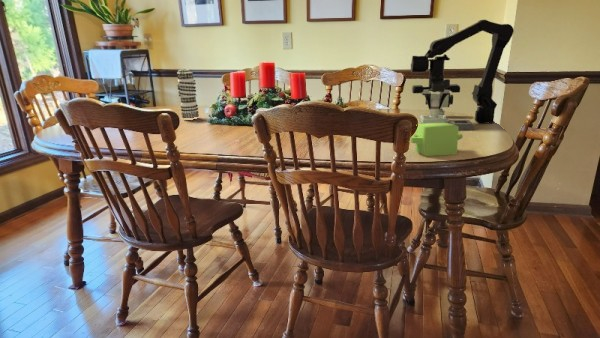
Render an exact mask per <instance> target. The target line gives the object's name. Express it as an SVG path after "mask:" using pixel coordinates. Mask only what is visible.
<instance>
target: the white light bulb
mask: <svg viewBox="0 0 600 338" xmlns="http://www.w3.org/2000/svg"><path fill="white" fill-rule="evenodd" d="M439 101H440V99H439V98H431V99H430V110H429V115H430V116H429V118H439Z"/></svg>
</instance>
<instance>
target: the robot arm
mask: <svg viewBox="0 0 600 338" xmlns="http://www.w3.org/2000/svg"><path fill="white" fill-rule="evenodd" d="M481 32H485V33H486V34H490V35H491V36H492V37H491V49H490V51H489V56H488V59H487V61H486V66H485V67H484V71H483V73H482V78H481V81H480V82H479V84H478V85H477V84H474V86H473V91H472V92H471V95H472V100H473V102H475V104H476V106H477V107H476V110H475V112H474V113H475V114H474V121H475V122H477V123H478V124H495V120H494V119H495V110H496V108H497V105H498V104H497V102H496V101H495V100H493V99H492V98H493V92H494V91H493V90H494V89H493V83H494V80H495V77H496V74H497V71H498V68H499V65H500V61H501V59H502V57H503V52H504V49H505V48H506V46H507V45H508V44H509V42H510V40H511V38H512V37H513V35H514V33H515V32H514V27H513V26H512V24H510V23H509V24H508V23H496V22H493V21H489V20H487V19H479V20H478V21H476V22H475V23H472V24H471V25H469V26H468V27H465V28H464V29H461V30H459V31H457V32H455V33H453V34H452V35H449V36H445V37H442V38H439V39H436V40H433V41H432V42H431V43H430V45H429V49H428V50H427V51H426V53H425V54H424V55H412V57H411V63H410V72H411V74H413V73H415V74H416V73H426V72H427V71H428V70H429V71H428V72H429V73H428V86H423V85H422V84H419V85H418V84H416V85H415V84H414V85H412V87H411V92H412V94H421V95H422V96H424V97H425V101H427V104H428V105H427V107H428V110H429V111H430V93H429V92H440V101H439V109H441V106H442V103H443V101H444V99H445V97H446V96H447V95H451V93H460V92H461V86H460V85H459V84H457V83H455V84H454V83H452V84H451V79H445V78H444V72H445V61H450V60H451V58H450V57H449V56H448V55H447V54H446V53H447V52H448V51H449V50H451V49H452V48H453V47H454V46H456V45H457V44H459V43H461V42H463V41H464V40H467V39H469V38H471V37H473V36H475V35H477V34H480V33H481ZM449 92H451V93H449ZM477 123H476V124H477Z"/></svg>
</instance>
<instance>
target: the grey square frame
mask: <svg viewBox="0 0 600 338" xmlns="http://www.w3.org/2000/svg"><path fill="white" fill-rule="evenodd" d="M448 123H449V124H453V125H457V126H458V127H459V129H458V131H473V130H474V123H473V122H472V121H471V120H470V119H448Z"/></svg>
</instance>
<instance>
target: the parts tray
mask: <svg viewBox="0 0 600 338" xmlns="http://www.w3.org/2000/svg"><path fill="white" fill-rule="evenodd" d="M429 116H430V114H429V115H428V114H423V115H422V114H421V115H420V116H419V117H420V118H419V122H420V124H425V123H449V118H448V117H447V116H446V115H445V114H444V115H439V118H429Z"/></svg>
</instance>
